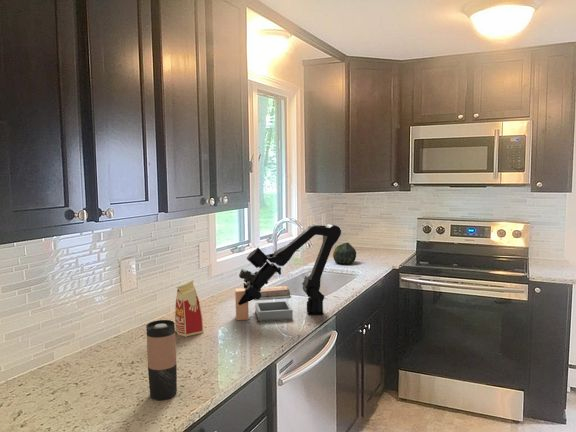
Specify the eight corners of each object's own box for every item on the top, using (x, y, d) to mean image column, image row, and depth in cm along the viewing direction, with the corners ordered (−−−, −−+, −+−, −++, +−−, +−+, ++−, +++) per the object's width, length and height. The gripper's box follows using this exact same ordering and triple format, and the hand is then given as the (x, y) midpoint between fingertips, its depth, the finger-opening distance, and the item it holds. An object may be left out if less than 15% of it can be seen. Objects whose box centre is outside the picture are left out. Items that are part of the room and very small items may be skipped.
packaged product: (287, 284, 237) (291, 288, 227) (287, 293, 238) (291, 298, 228) (251, 286, 234) (253, 291, 224) (251, 295, 234) (254, 301, 224)
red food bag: (194, 326, 188) (192, 277, 186) (204, 332, 180) (203, 281, 178) (172, 331, 182) (170, 280, 180) (182, 337, 175) (180, 284, 173)
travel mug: (180, 388, 134) (178, 319, 132) (173, 401, 126) (170, 328, 124) (154, 388, 134) (151, 319, 132) (145, 401, 127) (141, 328, 125)
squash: (332, 252, 318) (334, 238, 306) (354, 253, 317) (357, 239, 306) (333, 270, 308) (335, 255, 297) (355, 270, 308) (358, 256, 297)
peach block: (247, 315, 200) (246, 287, 199) (248, 319, 195) (247, 290, 194) (235, 316, 199) (235, 288, 198) (236, 320, 194) (235, 291, 193)
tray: (286, 309, 208) (286, 300, 208) (292, 319, 194) (292, 310, 194) (255, 311, 206) (255, 302, 205) (258, 321, 192) (258, 312, 191)
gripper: (248, 258, 205) (223, 284, 204) (252, 266, 186) (225, 295, 185) (266, 275, 207) (242, 301, 206) (272, 285, 188) (245, 314, 188)
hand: (238, 302), depth 196 cm, fingers closed on peach block, 5 cm apart
